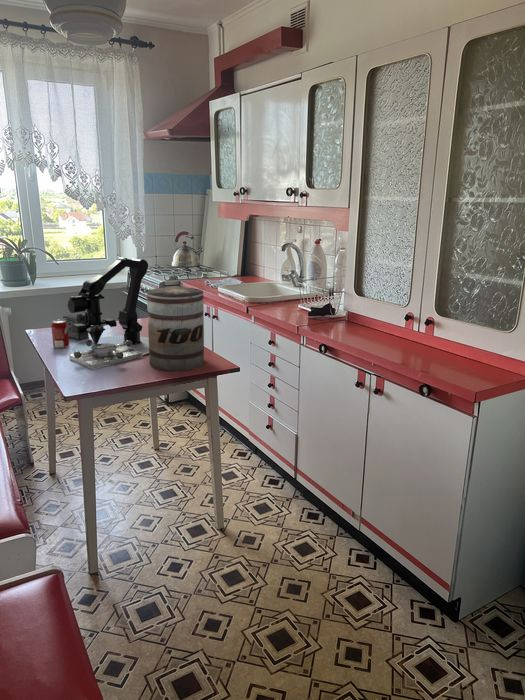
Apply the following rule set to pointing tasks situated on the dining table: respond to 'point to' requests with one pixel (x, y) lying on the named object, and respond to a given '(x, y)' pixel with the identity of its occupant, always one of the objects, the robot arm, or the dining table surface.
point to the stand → (107, 358)
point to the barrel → (175, 328)
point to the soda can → (60, 334)
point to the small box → (70, 321)
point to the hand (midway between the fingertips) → (95, 344)
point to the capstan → (103, 349)
